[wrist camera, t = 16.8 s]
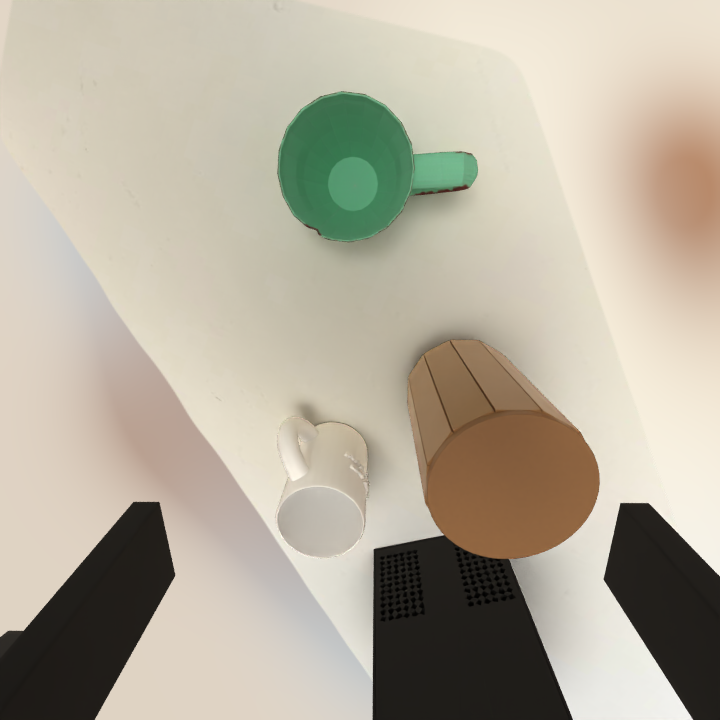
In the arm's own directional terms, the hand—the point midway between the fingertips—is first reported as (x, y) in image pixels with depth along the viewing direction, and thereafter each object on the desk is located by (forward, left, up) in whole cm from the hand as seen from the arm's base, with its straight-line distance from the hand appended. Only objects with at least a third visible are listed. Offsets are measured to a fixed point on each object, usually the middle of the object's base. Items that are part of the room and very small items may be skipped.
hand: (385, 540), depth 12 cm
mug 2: (-13, 0, -32) cm, 35 cm away
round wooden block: (+6, +8, -28) cm, 29 cm away
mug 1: (+14, -6, -32) cm, 36 cm away
